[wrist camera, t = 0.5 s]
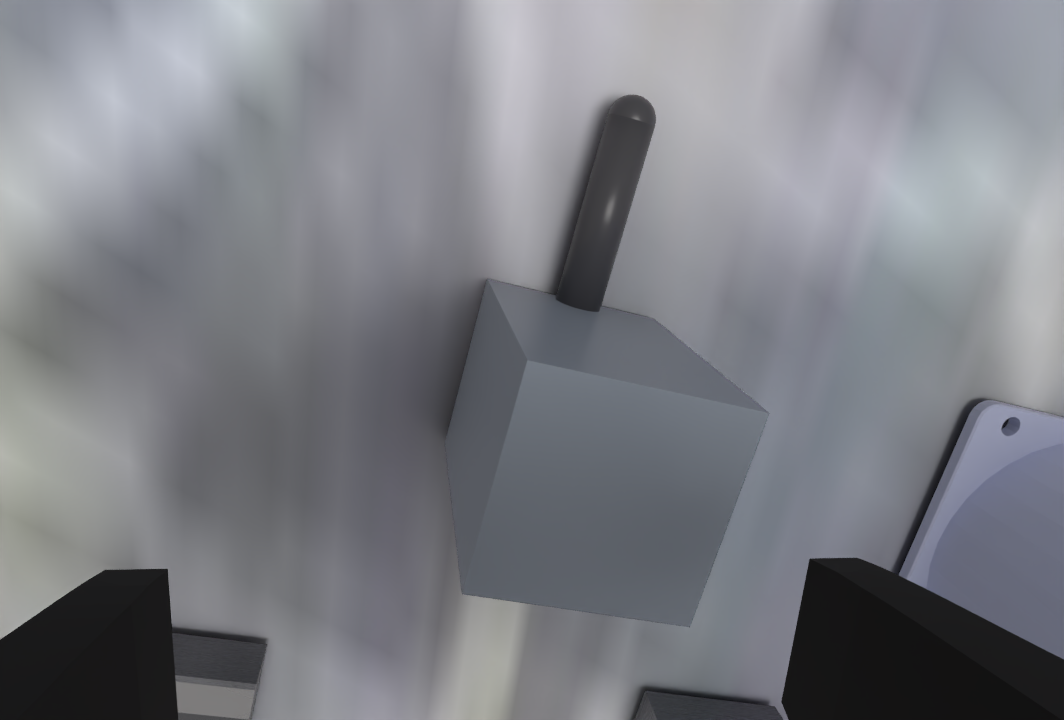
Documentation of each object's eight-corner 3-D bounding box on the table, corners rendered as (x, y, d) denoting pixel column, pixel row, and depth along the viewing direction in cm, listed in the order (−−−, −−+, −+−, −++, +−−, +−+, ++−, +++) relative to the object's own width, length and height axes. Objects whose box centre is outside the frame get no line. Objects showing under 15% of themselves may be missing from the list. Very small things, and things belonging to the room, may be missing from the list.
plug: (717, 122, 17) (877, 125, 11) (604, 473, 19) (690, 627, 13) (541, 68, 16) (616, 41, 10) (444, 443, 18) (461, 593, 12)
